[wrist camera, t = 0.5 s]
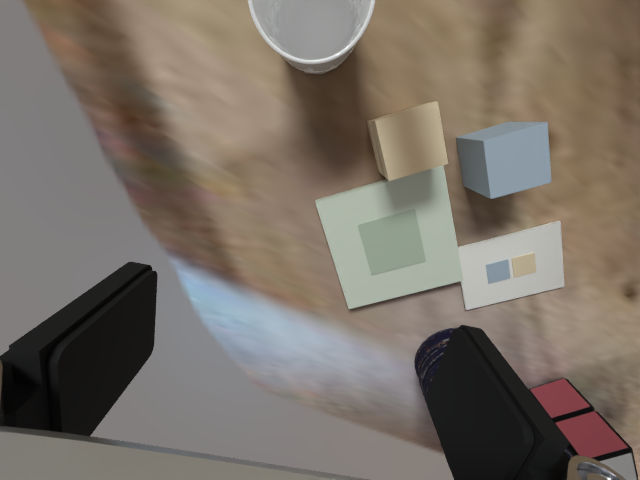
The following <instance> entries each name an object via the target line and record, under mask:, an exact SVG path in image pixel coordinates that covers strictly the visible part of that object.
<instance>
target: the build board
mask: <svg viewBox="0 0 640 480" xmlns="http://www.w3.org/2000/svg"><path fill="white" fill-rule="evenodd" d="M315 203H316V206H317V209H318V213H319V216H320V219H321V222H322V225H323V228H324V232H325V235H326V238H327V241H328V244H329V248H330V251H331V254H332V257H333V260H334V264H335V267H336V270H337V273H338V276H339V279H340V283H341V286H342V289H343V292H344V295H345V299H346V302H347V305H348V308H349V309H352V308H356V307H360V306H364V305H368V304H372V303H376V302H380V301H384V300H388V299H392V298H396V297H400V296H404V295H408V294H412V293H416V292H420V291H424V290H428V289H432V288H436V287H440V286H444V285H448V284H452V283H456V282H460V281H463V275H462V270H461V264H460V258H459V252H458V247H457V241H456V235H455V229H454V224H453V218H452V212H451V206H450V200H449V195H448V189H447V183H446V177H445V172H444V166H443V165H442V166H439V167H436V168H432V169H429V170H425V171H422V172H418V173H415V174H412V175H408V176H405V177H401V178H398V179H395V180H391V181H388V180H387V179H385V180H382V181H378V182H375V183H371V184H368V185H365V186H361V187H358V188H354V189H351V190H347V191H344V192H341V193H337V194H334V195H330V196H327V197H324V198H320V199H317V200H316V201H315Z"/></svg>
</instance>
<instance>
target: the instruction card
mask: <svg viewBox="0 0 640 480" xmlns="http://www.w3.org/2000/svg"><path fill="white" fill-rule="evenodd" d="M458 252H459V258H460V264H461V270H462V275H463V281H460V283H461V288H462V294H463V300H464V305H465V309H466V310H469V309H473V308H478V307H482V306H486V305H490V304H494V303H498V302H503V301H507V300H511V299H515V298H519V297H523V296H528V295H532V294H536V293H540V292H544V291H548V290H553V289H557V288H561V287H564V272H563V255H562V238H561V222H560V221H555V222H551V223H548V224H544V225H540V226H536V227H532V228H529V229H525V230H521V231H517V232H513V233H510V234H506V235H502V236H498V237H494V238H491V239H487V240H483V241H479V242H475V243H472V244H468V245H464V246H460V247H458Z"/></svg>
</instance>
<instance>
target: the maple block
mask: <svg viewBox="0 0 640 480" xmlns="http://www.w3.org/2000/svg"><path fill="white" fill-rule="evenodd" d="M367 125H368V129H369V133H370V138H371V142H372V146H373V150H374V154H375V158H376V162H377V167H378V171H379V172H380V173H381V174H382V175H383V176H384V177H385V178H386V179H387V180H388V181H391V180H395V179H398V178H401V177H405V176H408V175H412V174H415V173H418V172H422V171H425V170H429V169H432V168H436V167H439V166H442V165H446V164H448V160H447V154H446V148H445V142H444V136H443V130H442V124H441V118H440V112H439V107H438V101H436V102H431V103H425V104H420V105H416V106H413V107H410V108H406V109H403V110H400V111H397V112H394V113H391V114H388V115H384V116H381V117H378V118H375V119H372V120H369V121H367Z"/></svg>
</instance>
